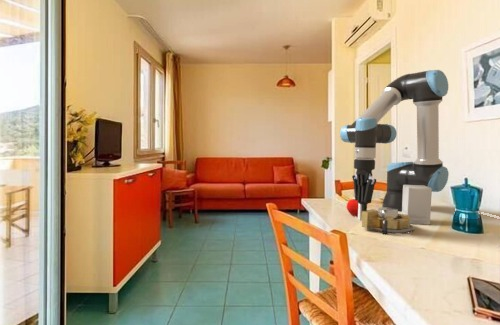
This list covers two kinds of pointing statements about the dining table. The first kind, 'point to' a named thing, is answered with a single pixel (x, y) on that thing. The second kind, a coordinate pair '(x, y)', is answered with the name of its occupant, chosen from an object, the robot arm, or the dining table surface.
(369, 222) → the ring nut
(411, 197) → the supplement box
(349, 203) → the apple
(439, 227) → the dining table surface
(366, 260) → the dining table surface
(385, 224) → the hub base
